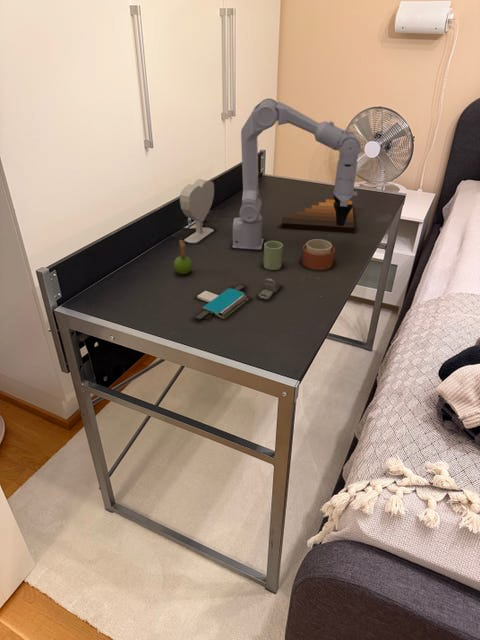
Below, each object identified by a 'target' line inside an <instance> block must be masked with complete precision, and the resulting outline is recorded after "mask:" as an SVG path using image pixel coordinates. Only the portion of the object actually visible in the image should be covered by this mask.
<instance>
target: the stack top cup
mask: <svg viewBox="0 0 480 640" xmlns="http://www.w3.org/2000/svg"><path fill="white" fill-rule="evenodd" d="M305 244H306V251H308V252H310V253H313V254H329V253H331V250H332V246H333V244H332V243H331V242H330V241H328V240H327V239H322V238H321V239H320V238H315V239H313V238H312V239H310V240H308V241H307V242H306V243H305Z"/></svg>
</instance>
